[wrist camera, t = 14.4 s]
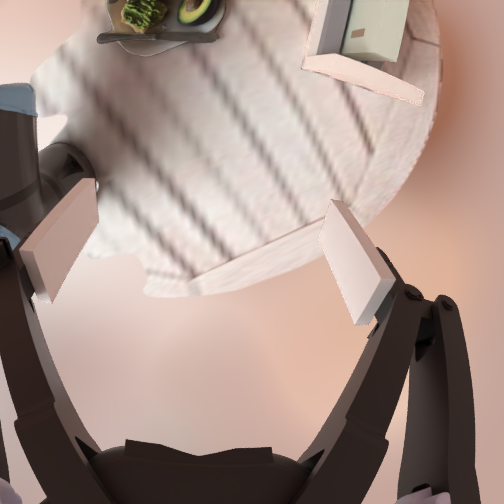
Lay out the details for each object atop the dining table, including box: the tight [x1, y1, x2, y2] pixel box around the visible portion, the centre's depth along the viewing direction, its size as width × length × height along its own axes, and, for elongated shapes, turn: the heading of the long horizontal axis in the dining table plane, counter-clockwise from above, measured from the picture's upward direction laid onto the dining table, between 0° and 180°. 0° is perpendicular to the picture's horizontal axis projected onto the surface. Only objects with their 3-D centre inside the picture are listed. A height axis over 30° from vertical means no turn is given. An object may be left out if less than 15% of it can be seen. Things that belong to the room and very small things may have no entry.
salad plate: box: [97, 0, 226, 56], centre depth 26 cm, size 19×18×5 cm
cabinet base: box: [301, 0, 425, 106], centre depth 23 cm, size 24×12×14 cm, turn 169°
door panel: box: [339, 0, 409, 62], centre depth 23 cm, size 16×3×12 cm, turn 169°
